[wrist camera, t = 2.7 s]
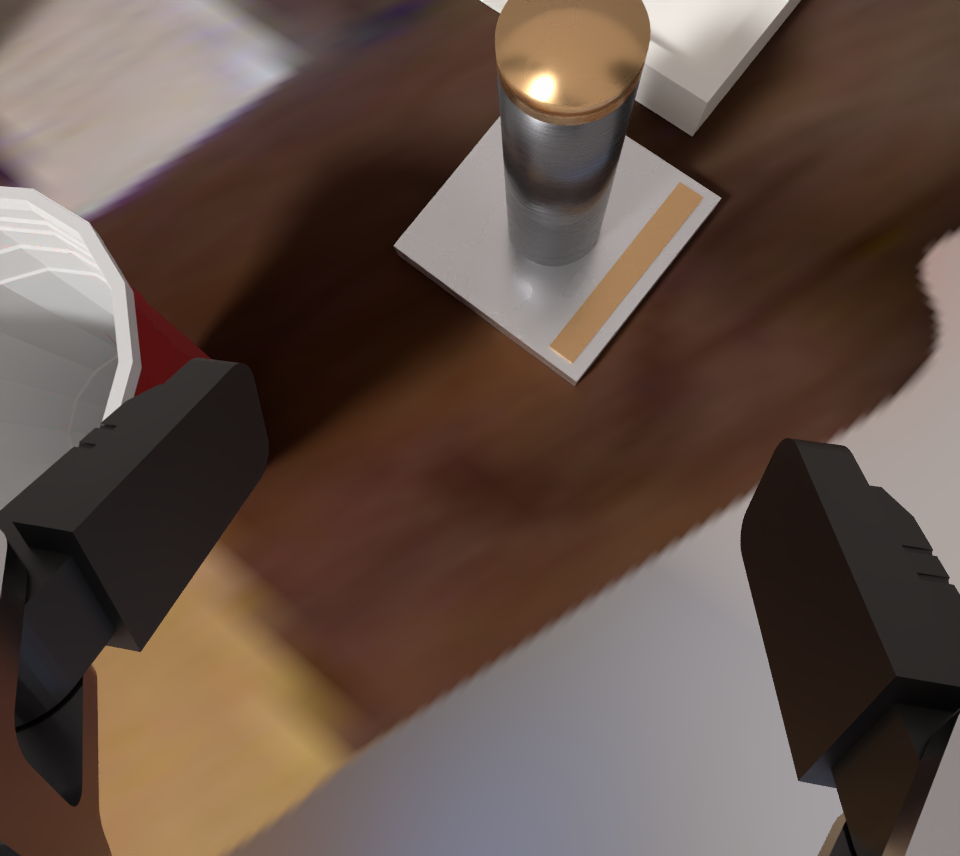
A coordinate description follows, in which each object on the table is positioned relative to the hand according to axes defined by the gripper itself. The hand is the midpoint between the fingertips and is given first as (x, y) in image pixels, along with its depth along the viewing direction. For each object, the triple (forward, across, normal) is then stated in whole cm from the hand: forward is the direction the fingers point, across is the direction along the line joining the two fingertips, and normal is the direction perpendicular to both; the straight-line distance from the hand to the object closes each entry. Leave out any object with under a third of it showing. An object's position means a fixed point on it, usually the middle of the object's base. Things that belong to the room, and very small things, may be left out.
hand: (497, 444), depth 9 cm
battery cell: (+18, 0, +2) cm, 19 cm away
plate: (+19, 0, +3) cm, 19 cm away
